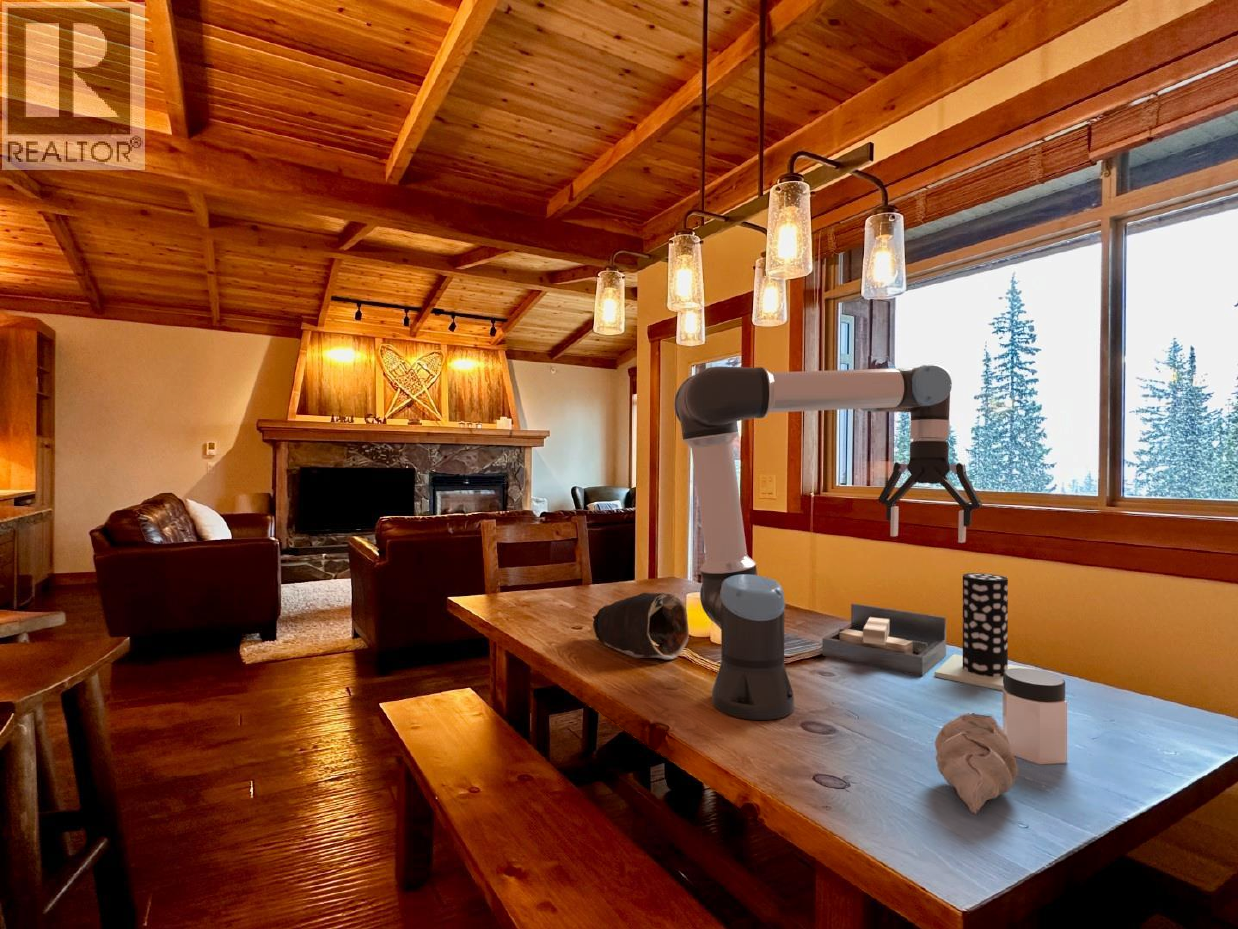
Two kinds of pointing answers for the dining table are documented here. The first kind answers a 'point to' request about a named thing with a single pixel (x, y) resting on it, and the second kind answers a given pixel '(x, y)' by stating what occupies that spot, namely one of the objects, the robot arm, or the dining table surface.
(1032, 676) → the jar
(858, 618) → the tray
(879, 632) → the offcut top
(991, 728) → the seashell
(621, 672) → the dining table surface
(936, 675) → the mat
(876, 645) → the offcut middle
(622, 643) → the clay pot
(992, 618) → the spotted tube
